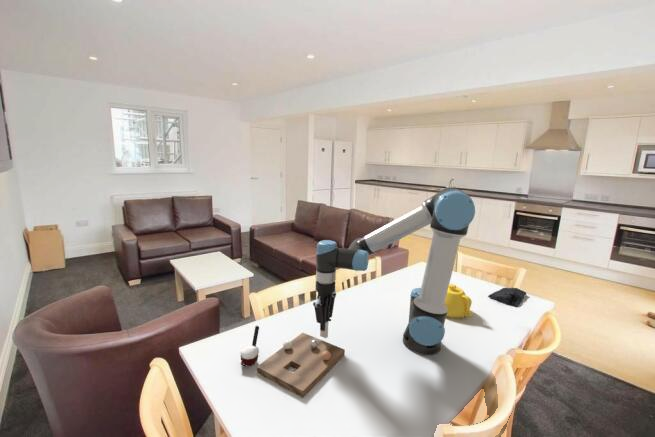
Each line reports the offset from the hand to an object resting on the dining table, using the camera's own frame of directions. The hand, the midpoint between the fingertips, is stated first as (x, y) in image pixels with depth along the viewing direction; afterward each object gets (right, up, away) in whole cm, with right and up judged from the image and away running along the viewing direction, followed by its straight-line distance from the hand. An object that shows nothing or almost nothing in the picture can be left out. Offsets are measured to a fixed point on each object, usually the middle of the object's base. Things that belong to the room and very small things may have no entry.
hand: (324, 336), depth 124 cm
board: (-8, -6, -11) cm, 15 cm away
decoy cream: (-14, -1, -7) cm, 15 cm away
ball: (-4, -1, -6) cm, 7 cm away
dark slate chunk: (+102, +3, +49) cm, 113 cm away
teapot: (+62, +1, +33) cm, 70 cm away
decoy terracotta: (+1, -2, -12) cm, 13 cm away
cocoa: (-27, -6, -11) cm, 29 cm away
